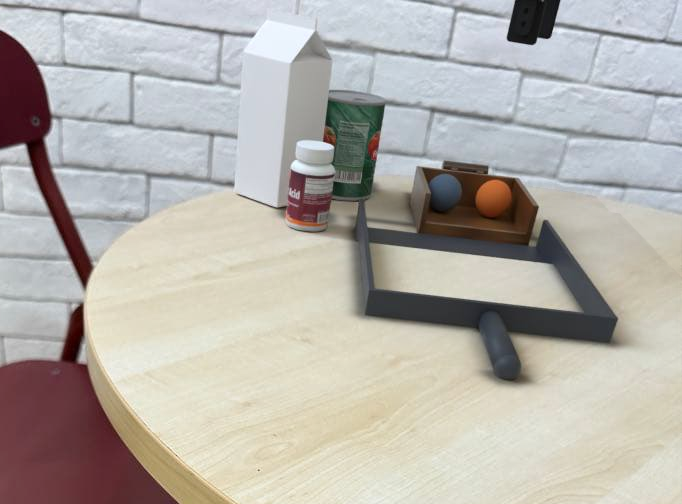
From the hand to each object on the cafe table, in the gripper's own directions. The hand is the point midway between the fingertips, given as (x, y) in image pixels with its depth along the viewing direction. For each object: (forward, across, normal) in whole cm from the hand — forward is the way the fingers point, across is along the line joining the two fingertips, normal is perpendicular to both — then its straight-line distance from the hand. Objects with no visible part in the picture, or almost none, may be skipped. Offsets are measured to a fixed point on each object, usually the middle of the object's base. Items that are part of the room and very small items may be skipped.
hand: (529, 40), depth 95 cm
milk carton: (+19, -14, +23) cm, 33 cm away
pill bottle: (+19, -22, +16) cm, 33 cm away
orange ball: (+16, -5, -1) cm, 17 cm away
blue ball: (+16, -7, +4) cm, 18 cm away
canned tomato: (+19, -6, +18) cm, 27 cm away
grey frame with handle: (+19, -33, -6) cm, 39 cm away
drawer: (+19, -6, +1) cm, 20 cm away
